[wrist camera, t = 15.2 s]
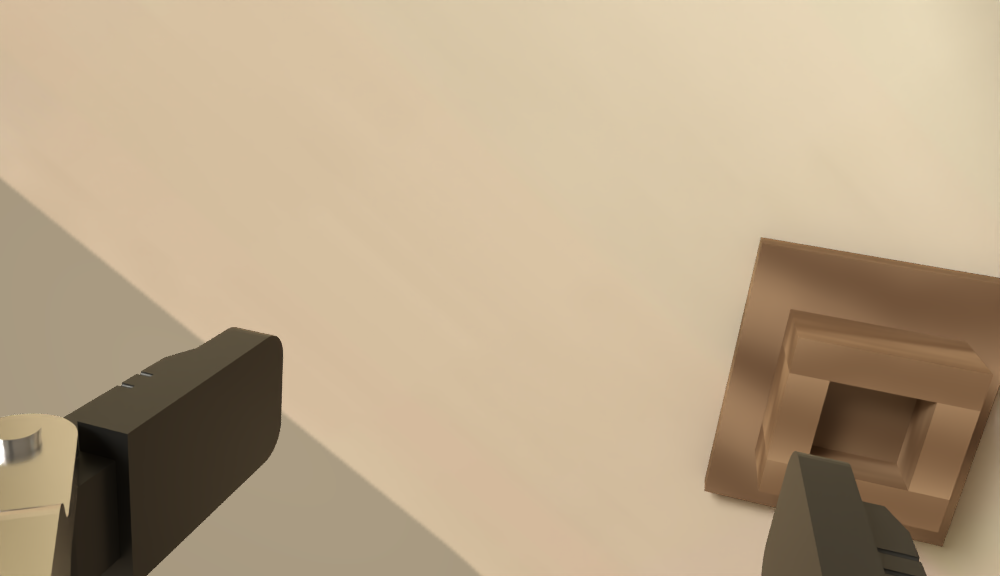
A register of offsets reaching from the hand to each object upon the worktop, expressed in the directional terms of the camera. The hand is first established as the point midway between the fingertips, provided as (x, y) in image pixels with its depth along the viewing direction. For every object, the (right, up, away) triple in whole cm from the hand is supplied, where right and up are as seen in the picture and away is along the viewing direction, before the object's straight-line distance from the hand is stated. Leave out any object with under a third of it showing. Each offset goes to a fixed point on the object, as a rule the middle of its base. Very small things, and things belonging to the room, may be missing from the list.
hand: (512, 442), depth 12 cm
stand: (+18, -3, +29) cm, 34 cm away
